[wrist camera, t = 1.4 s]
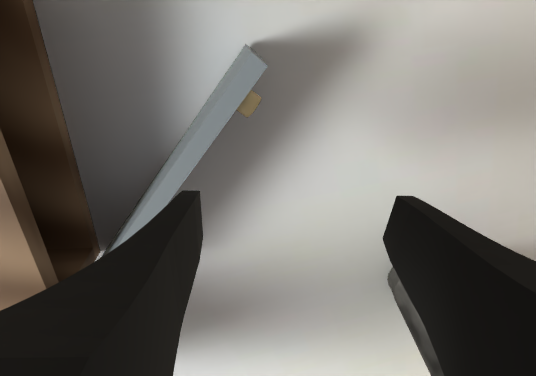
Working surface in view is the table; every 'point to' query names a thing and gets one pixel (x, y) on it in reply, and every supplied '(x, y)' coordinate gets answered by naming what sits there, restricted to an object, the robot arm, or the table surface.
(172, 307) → the robot arm
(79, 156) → the table surface
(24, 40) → the walnut cabinet
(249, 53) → the cabinet door
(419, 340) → the beverage cup
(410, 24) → the table surface
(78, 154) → the table surface
